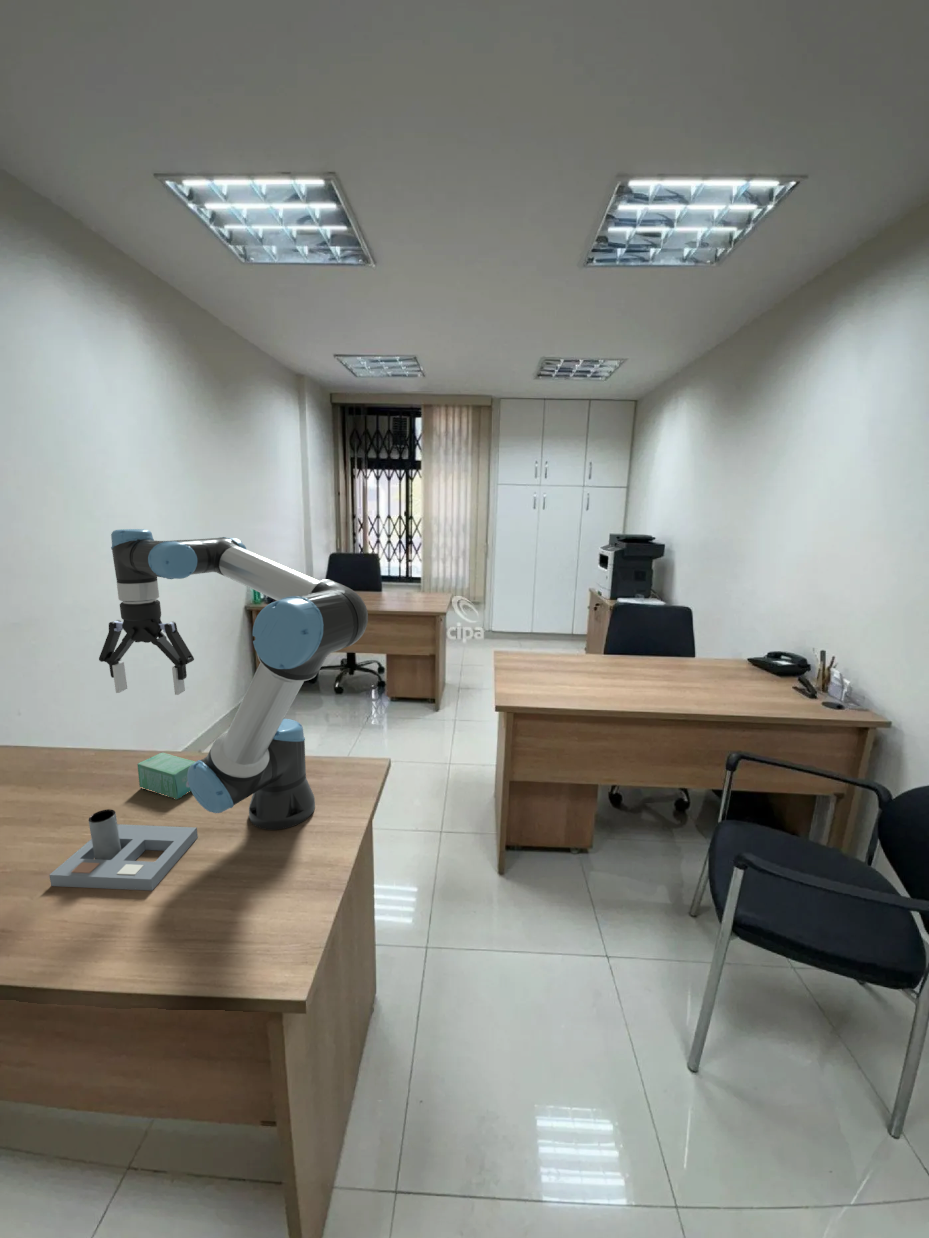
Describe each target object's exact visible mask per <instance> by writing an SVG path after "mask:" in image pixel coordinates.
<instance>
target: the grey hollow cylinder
mask: <svg viewBox="0 0 929 1238" xmlns="http://www.w3.org/2000/svg"><path fill="white" fill-rule="evenodd" d="M88 824H89V825H88V826H89V833H90V840H91V839H92V845H93V851H94V858H93V859H101V860H112V859H113V858H114V857H115V856H116V855H117V854H118V853H119V852H120V851H121V850H122V849H121V846H120V839H119V833H118V826H117V824H118V820H117V815H116V811H115V810H114V809H111V808H108V809H102V810H100V811H97V812H96V811H95V813H93V814H91V815H89V818H88Z"/></svg>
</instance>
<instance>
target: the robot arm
mask: <svg viewBox="0 0 929 1238" xmlns="http://www.w3.org/2000/svg"><path fill="white" fill-rule="evenodd" d="M110 534H111V535H110V536H111V537H110V538H111V547H110V548H111V550H112V551H111V552H112V558H113V565H114V566H113V567H114V572H115V579H116V588H117V598H118V601H120V603H119V610H120V617H121V620H120V619H116V620H114V621H111V622H108V632H107V635H106V638H105V641H104V644H103V647H102V648H101V652H100V655H99V657H98V661H99V662H101V663H102V662H104V663H107V664H108V667H109V672H110V677H111V678H113V680H114V681H113V682H114V688H115V689H114V690H115V693H116V694H119V693H122V692H124V691H126V690H128V684H127V677H126V675H127V674H126V669H125V668H126V667H125V662H124V661H122V658H123V657H124V656H125V654H126V653H127V652H128V651H129V649H130V648H131V646H133V644H134V643H141V642H142V643H145V644H146V643H151V644H152V645H154V646H156V647H157V648H158V649H159V650H160V651H161V652H162V653H163V654H164V655H165V657H167V658H168V660H170V661H171V663H172V664H173V666H172V667H171V670H172V680H173V688H174V689H173V690H174V695H175V696H179V695H180V694H182V693H184V692H185V690H186V687H185V679H187V675H188V673H187V665H188V664H190V663H192V662H194V660H195V658H194V656H193V654H192V652H191V651H190V649H189V648H188V646H187V644H186V643H185V641H184V639H183V638H182V636H181V634H180V633H179V630H178V626H177V623H176V621H170V622H165V623H163V622H162V621H161V617H162V608H161V602H160V600H159V599H158V598H160V593H159V583H158V578H163V579H167V580H174V579H176V580H182V579H187V578H188V577H190V576H191V575H198V574H199V575H200V574H208V573H209V574H210V573H217V574H219V575H221V576H224V577H225V578H229V579H230V580H233V581H235V582H237V583H239V584H241V585H244V586H246V587H247V588H249V589H251V590H254V591H256V592H257V593H260V594H262V595H264V596H267V597H269V598H270V599H273V600H275V601H272V602H271V603H269V604H267V605H265V607H263V608H262V609H261V610H260V612H258V614H257V616H256V618H255V620H254V621H253V622H254V623H253V626H252V632H251V633H252V637H255V638H254V640H253V641H252V643H253V647H254V650H255V652H256V656H257V659H258V661H259V662H260V663H259V665H258V667H257V668H256V670H255V673H254V675H253V677H252V679H251V682H250V683H249V686H248V688H247V690H246V692H245V693H244V695H243V698H242V700H241V702H240V705H239V707H238V709H237V710H236V713H235V715H234V717H233V720H231V723H230V726H229V728H228V730H227V732H226V733H223V734H222V735H220V736H218V737H217V738H216V739H215V740H214V742H213V743H212V746H211V747H210V750H209V752H208V753H207V755H206V756H205V757H204V758H201V759H198V760H196V761H195V763H194V764H192V765H191V766H190V767H189V769H188V773H187V778H188V784H189V787H190V789H191V792H190V793H191V794H192V795H193V797H194V798H195V800H196V801H197V803H198V804H199V805H200V806H201V807H202V808H203V809H204V810H206V811H207V812H209V813H213V814H221V813H223V812H225V811H227V810H229V809H232V808H234V806H236V805H237V804H239V803H240V802H242V801H244V800H246V799H247V798H248V797H251V799H250V803H249V806H248V817H249V821H250V823H251V824H252V825H253V826H255V827H257V828H259V829H262V830H268V831H269V830H270V831H271V830H272V831H275V830H276V831H277V830H282V829H288V828H291V827H293V826H296V825H298V824H299V825H300V824H302V822H304V821H306V820H307V819H308V818H310V817H311V815H313V813H314V811H315V809H316V808H315V807H316V800H315V795H314V792H313V790H312V788H311V786H310V783H309V782H308V779H307V773H306V770H307V769H306V748H305V746H306V745H305V741H306V737H305V733H304V728H303V726H302V724H301V723H300V722H299V721H297V720H294V719H289V718H285V717H286V715H287V714H288V711H289V710H290V708H291V706H292V705H293V702H294V701H295V699H296V697H297V694H298V693H299V691H300V690H301V688H302V685H303V684H304V682H306V681H309V680H312V679H314V678H315V677H316V676H317V675H318V674H319V672H320V669H322V668H321V667H322V666H323V665H324V662H325V661H326V659H327V657H328V656H329V655H330V654H331V653H332V654H333V653H335V652H337V651H340V650H343V649H345V648H348V647H351V646H352V645H354V644H355V643H357V642H358V641H359V640H360V639H361V638H362V637H363V636H364V634H365V632H366V630H367V626H368V622H369V613H368V608H367V605H366V603H365V602H364V600H363V598H362V597H361V596H360V595H359V593H357V592H356V591H355V590H353V589H351V588H350V587H348V586H346V585H343V584H342V583H339V582H336V581H334V580H332V579H329V578H328V579H322V580H319V579H317V578H314V577H312V576H310V575H307V574H305V573H303V572H300V571H298V570H296V569H293V568H290V567H288V566H286V565H284V564H281V563H279V562H277V561H274V560H272V559H270V558H267V557H265V556H262V555H261V554H257V553H255V552H254V551H251V550H249V549H247V547H246V545H245V544H243V542H242V541H241V539H239V538H236V537H227V536H222V537H220V536H219V537H215V538H214V537H213V538H212V537H211V538H210V537H209V538H198V539H197V538H194V539H178V540H154V537H153V534H152V532H151V530H150V529H145V528H143V529H142V528H141V529H140V528H126V529H125V528H124V529H115V530H113V531H112V532H111V533H110ZM122 631H124V632H125V633H126V634H125V635H124V636H123V638H122V639H121V642H120V643H119V644H118V642H119V639H120V636H121V634H122ZM162 631H163V632H162ZM117 644H118V646H117Z"/></svg>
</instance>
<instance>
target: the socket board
mask: <svg viewBox="0 0 929 1238" xmlns="http://www.w3.org/2000/svg"><path fill="white" fill-rule="evenodd" d="M117 826H118V833H119V839H120V846H121V851H120V852H119V853H118V854H117V855H116V856H115V857H114V858H113V859H112V860H101V859H95V858H94V851H93V845H92V839H91V838H90V839H89V840H88V841H87V842H86V843H85V844H83V845H82V847H80V848H78V850H77V851H76V852H74V853H73V854H72V855H70V857H68V858H67V859H66V860H65V861H63V863H61V864H60V865H59V866H58V867H56V869H54V870H53V871H52V872H51V873H49V876H48V877H49V881H50V886H51V887H63V888H64V887H66V888H68V887H69V888H85V889H86V888H91V889H112V890H129V891H131V890H132V891H133V890H134V891H153V890H154V889H156V887H157V886H158V884H160V882H162V880H163V879H164V878H165V876H167V874H168V873H169V872H170V871H171V869H172V868H173V867H174V866H175V865H176V864H177V863H178V861H179V860H180V859H181V858H182V857H183V855H184V854H185V853H186V851H188V849H189V848H190V847H191V846H192V845H193V843H195V841H197V839H198V838H199V835H198V829H197V828H198V827H196V826H195V827H191V826H169V825H168V826H166V825H147V824H146V825H143V824H122V823H121V824H119V823H117ZM145 851H163V852H162V854H161V855H159V857H158V858H157V859H156V860H155V861H144V860H143V861H142V860H138V859H139V857H141V855H143V854H144V852H145Z"/></svg>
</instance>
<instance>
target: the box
mask: <svg viewBox="0 0 929 1238" xmlns="http://www.w3.org/2000/svg"><path fill="white" fill-rule="evenodd" d="M195 762H196V761H195V760H190V759H187V758H183V757H180V756H176V755H173V754H170V753H167V752H160V753H157V754H156V755H153V756H152V757H151V756H150V757H149V758H147V759H145V760H142V761H140V762H138V763H137V764H136V765H137V773H138V782H139V783H138V784H139V785H138V786H139V788H140V787H143V788H145V789H149V790H152V791H155V792H157V793H161V794H164V795H167V796H169V797H173V798H175V799H174V800H176V799H178V798H180V797H181V798H183V797H184V796H183V795H185V794H186V793H187V792H189V791H191V789H190V787H189V784H188V778H187V773H188V769H189V767H190V766H191V765H192V764H194V763H195ZM189 793H190V792H189ZM186 795H187V794H186ZM186 795H185V796H186ZM182 796H183V797H182ZM169 797H168V798H169ZM181 798H180V799H181ZM178 800H179V799H178Z"/></svg>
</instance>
